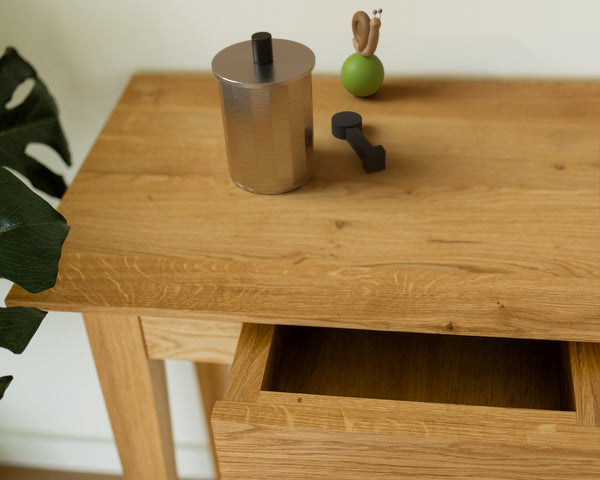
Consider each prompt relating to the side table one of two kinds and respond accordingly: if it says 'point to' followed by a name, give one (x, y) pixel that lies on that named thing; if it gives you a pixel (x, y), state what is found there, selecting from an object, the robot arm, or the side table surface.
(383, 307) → the side table surface
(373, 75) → the snail figurine
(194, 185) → the side table surface
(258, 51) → the pot lid
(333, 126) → the black disc-ended bar
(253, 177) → the pot
